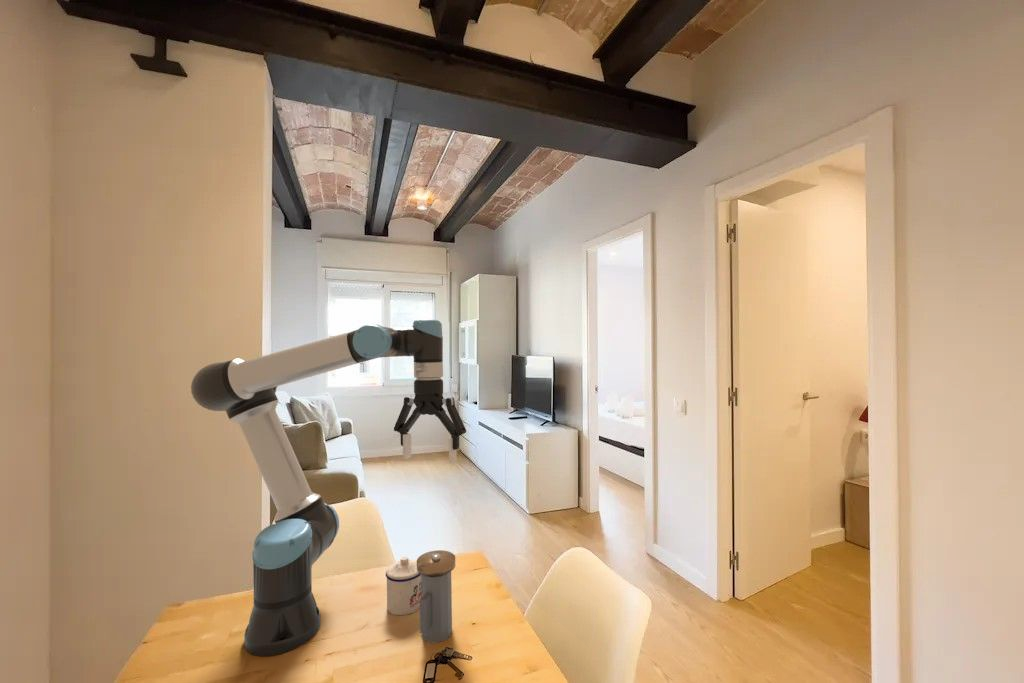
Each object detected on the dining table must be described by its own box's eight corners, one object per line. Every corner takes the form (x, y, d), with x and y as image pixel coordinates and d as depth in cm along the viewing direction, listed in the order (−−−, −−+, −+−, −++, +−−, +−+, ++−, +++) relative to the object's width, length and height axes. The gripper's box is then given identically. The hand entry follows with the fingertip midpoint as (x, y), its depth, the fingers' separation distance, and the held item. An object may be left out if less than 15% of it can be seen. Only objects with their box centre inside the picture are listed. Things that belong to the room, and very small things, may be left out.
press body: (409, 646, 92) (408, 580, 93) (431, 620, 101) (430, 560, 102) (436, 653, 90) (435, 586, 90) (456, 626, 99) (456, 564, 99)
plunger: (409, 628, 95) (409, 561, 95) (429, 605, 103) (429, 544, 103) (444, 636, 92) (443, 567, 92) (462, 612, 100) (461, 549, 100)
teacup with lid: (416, 617, 102) (416, 568, 103) (379, 615, 103) (379, 566, 104) (431, 589, 114) (431, 545, 115) (398, 588, 115) (397, 544, 116)
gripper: (379, 379, 114) (380, 460, 113) (465, 380, 105) (466, 467, 105) (396, 377, 121) (397, 453, 120) (478, 378, 112) (479, 460, 112)
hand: (429, 460), depth 113 cm, fingers open, 13 cm apart
